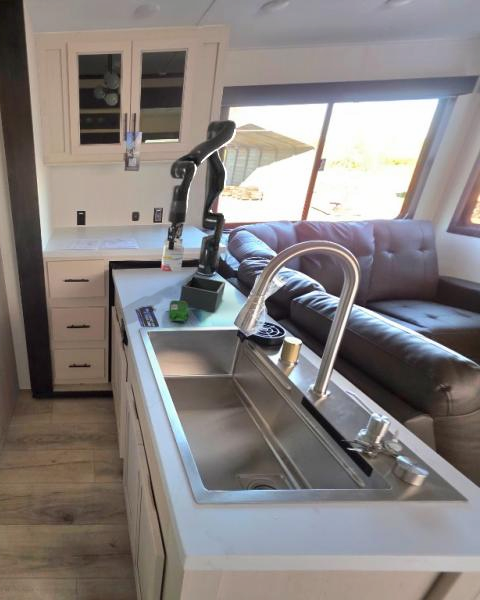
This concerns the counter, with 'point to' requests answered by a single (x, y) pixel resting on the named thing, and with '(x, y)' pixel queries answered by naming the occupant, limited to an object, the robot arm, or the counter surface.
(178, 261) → the ink cartridge box
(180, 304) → the snack package
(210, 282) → the waste bin
